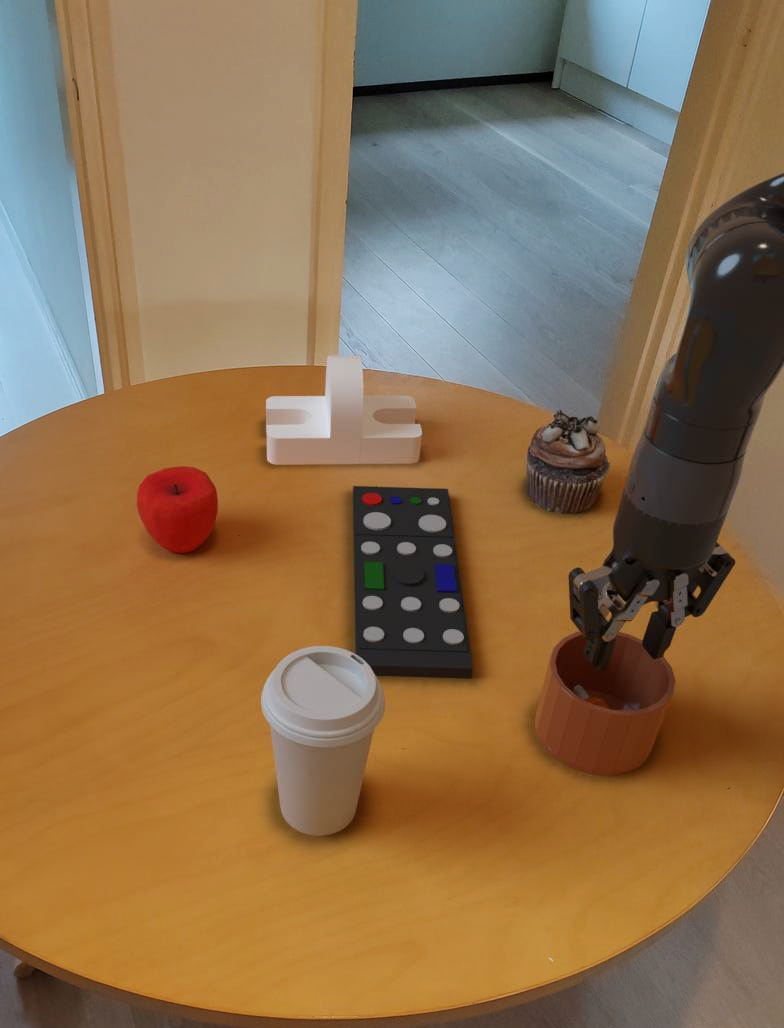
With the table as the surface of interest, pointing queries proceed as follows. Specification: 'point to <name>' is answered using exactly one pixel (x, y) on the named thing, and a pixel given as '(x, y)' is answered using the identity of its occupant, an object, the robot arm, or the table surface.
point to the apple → (178, 507)
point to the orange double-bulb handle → (593, 700)
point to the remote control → (408, 584)
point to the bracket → (342, 423)
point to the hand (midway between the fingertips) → (624, 657)
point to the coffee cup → (321, 734)
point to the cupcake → (566, 464)
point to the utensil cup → (597, 730)
